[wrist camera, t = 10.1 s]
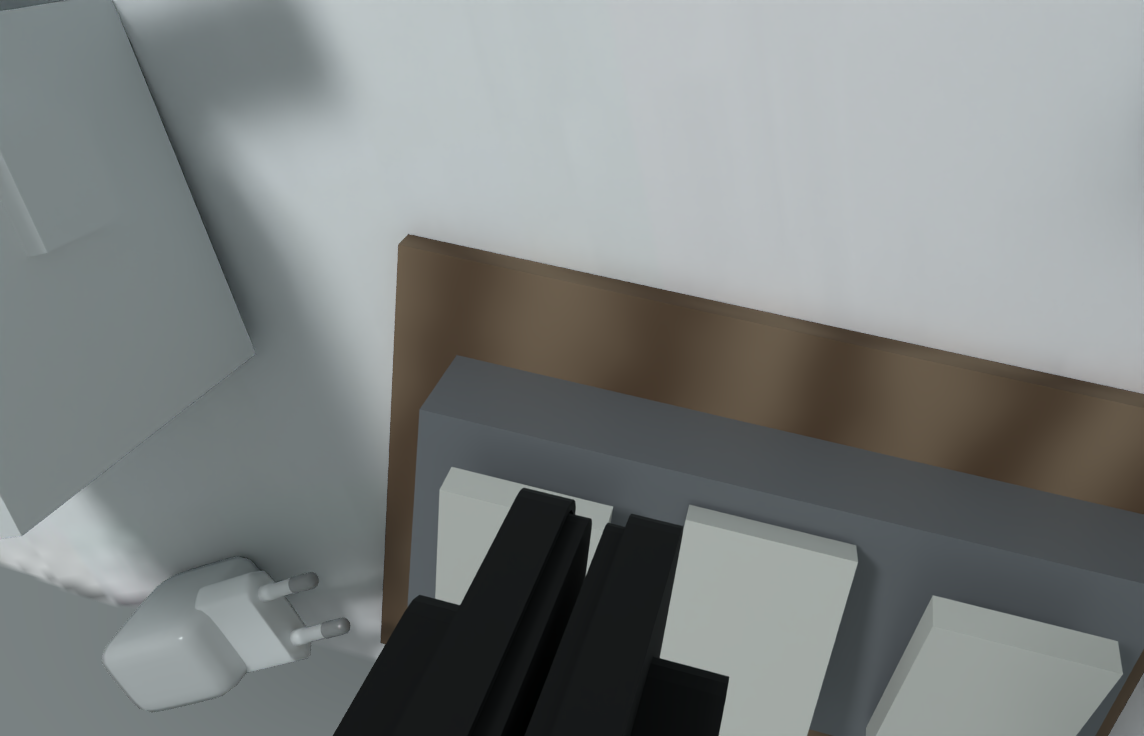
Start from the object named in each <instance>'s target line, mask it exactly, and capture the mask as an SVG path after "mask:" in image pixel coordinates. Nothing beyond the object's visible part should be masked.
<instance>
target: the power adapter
mask: <svg viewBox="0 0 1144 736" xmlns="http://www.w3.org/2000/svg"><path fill="white" fill-rule="evenodd" d="M318 583H319V578H318V576H317V574H316V573H314V572H308V573H305V574H301V575H297V576H294V577H291V578H290V579H286V580H283V581H279V582H274V580H273V579H272V578H271V577H270V576H269V575H268V574H267V573H266V572H265V571H260V570H259V569H258V568H257V566H256V565H255V564H254V563H253V562H252V561H251V560H250V559H246V558H242V557H238V556H237V557H233V558H229V559H225V560H221V561H218V562H214V563H211V564H208V565H204V566H201V567H198V568H195V569H191V570H188V571H185V572H182V573H180V574H177V575H174V576H172V577H170V578H169V579H167V580H165V581H164V582H163V583H161V584H160V585H158V586H157V587H156V588H155V589H154V591H153V592H152V593H151V594H150V595H149V596H148V597H147V598H146V599H145V600H144V601H143V603H142V604H141V605H140V606H139V607H138V608H137V609H136V611H135V612H134V613H133V614H132V615H131V617H130V618H129V619H128V620H127V621H126V622H125V624H124V625H123V626H122V627H121V628H120V630H119V631H118V632H117V633H116V634H115V636H114V637H113V638H112V639H111V641H110V642H109V643H108V645H107V646H106V647H105V649H104V652H103V656H102V664H103V665H104V667H105V669H106V670H107V672H108V673H109V674H110V676H111V677H112V678H113V680H114V681H115V682H116V683H117V684H118V686H119V687H120V688H121V689H122V691H123V692H124V693H125V694H126V695H127V697H128V698H129V699H130V700H131V701H132V702H133V703H134V704H135V705H136V706H137V707H138V708H139V709H142V710H145V711H149V712H158V711H164V710H169V709H174V708H177V707H182V706H186V705H190V704H195V703H199V702H203V701H207V700H210V699H214V698H217V697H220V696H223V695H224V694H225V693H227V692H228V691H230V690H231V689H232V688H233V687H235V686H236V685H237V684H238V683H239V682H240V680H241V679H242V678H243V676H244V675H245V674H246V673H249V672H254V671H258V670H262V669H266V668H271V667H275V666H279V665H283V664H287V663H291V662H295V661H299V660H303V659H307V658H309V656H310V651H311V642H312V641H316V640H320V639H324V638H331V637H335V636H339V635H343V634H346V633H347V632H348V631H349V630H350V622H349V620H348V619H346V618H338V619H335V620H331V621H327V622H323V623H322V624H318V625H314V626H310V627H306V625H305V624H304V622H303V621H302V620H301V618H300V617H299V615H298V614H297V613H296V611H295V610H294V608H293V607H292V606H291V604H290V603H289V601H288V600H287V599H286V597H285V595H289V594H292V593H299V592H302V591H306V590H310V589H313V588H315V587H316V586H317V585H318Z"/></svg>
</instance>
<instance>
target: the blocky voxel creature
mask: <svg viewBox="0 0 1144 736" xmlns="http://www.w3.org/2000/svg"><path fill="white" fill-rule="evenodd" d="M255 354H256V353H255V350H254V348H253V345H252V343H251V340H250V338H249V335H248V333H247V331H246V328H245V326H244V323H243V321H242V318H241V316H240V313H239V311H238V308H237V306H236V303H235V301H234V298H233V296H232V294H231V291H230V289H229V286H228V284H227V281H226V279H225V276H224V274H223V271H222V269H221V266H220V264H219V261H218V259H217V256H216V254H215V252H214V249H213V247H212V244H211V242H210V239H209V237H208V234H207V232H206V229H205V227H204V224H203V222H202V219H201V217H200V215H199V212H198V210H197V207H196V205H195V202H194V200H193V197H192V195H191V192H190V190H189V187H188V185H187V182H186V180H185V178H184V175H183V173H182V170H181V168H180V165H179V163H178V160H177V158H176V155H175V153H174V150H173V148H172V145H171V143H170V141H169V138H168V136H167V133H166V131H165V128H164V126H163V123H162V121H161V118H160V116H159V113H158V111H157V108H156V106H155V104H154V101H153V99H152V96H151V94H150V91H149V89H148V86H147V84H146V81H145V79H144V76H143V74H142V71H141V69H140V67H139V64H138V62H137V59H136V57H135V54H134V52H133V49H132V47H131V44H130V42H129V39H128V37H127V34H126V32H125V30H124V27H123V25H122V22H121V20H120V17H119V15H118V13H117V11H116V8H115V6H114V4H113V2H112V0H66V1H60V2H54V3H48V4H41V5H35V6H29V7H23V8H17V9H10V10H4V11H0V539H4V538H12V537H20V536H23V535H24V534H25V533H27V532H28V531H29V530H30V529H32V528H33V527H34V526H36V525H37V524H38V523H39V522H41V521H42V520H43V519H45V518H46V517H47V516H48V515H50V514H51V513H52V512H54V511H55V510H56V509H57V508H59V507H60V506H61V505H63V504H64V503H65V502H66V501H68V500H69V499H70V498H72V497H73V496H74V495H75V494H77V493H78V492H79V491H81V490H82V489H83V488H84V487H86V486H87V485H88V484H89V483H91V482H92V481H93V480H95V479H96V478H97V477H98V476H100V475H101V474H102V473H104V472H105V471H106V470H107V469H109V468H110V467H111V466H113V465H114V464H115V463H116V462H118V461H119V460H120V459H122V458H123V457H124V456H125V455H127V454H128V453H129V452H131V451H132V450H133V449H134V448H136V447H137V446H138V445H140V444H141V443H142V442H143V441H145V440H146V439H147V438H149V437H150V436H151V435H152V434H154V433H155V432H156V431H157V430H159V429H160V428H161V427H163V426H164V425H165V424H166V423H168V422H169V421H170V420H172V419H173V418H174V417H175V416H177V415H178V414H179V413H181V412H182V411H183V410H184V409H186V408H187V407H188V406H190V405H191V404H192V403H193V402H195V401H196V400H197V399H199V398H200V397H201V396H202V395H204V394H205V393H206V392H208V391H209V390H210V389H211V388H213V387H214V386H215V385H217V384H218V383H219V382H220V381H222V380H223V379H224V378H226V377H227V376H228V375H229V374H231V373H232V372H233V371H234V370H236V369H237V368H238V367H240V366H241V365H242V364H243V363H245V362H246V361H247V360H249V359H250V358H251V357H252V356H254V355H255Z"/></svg>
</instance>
